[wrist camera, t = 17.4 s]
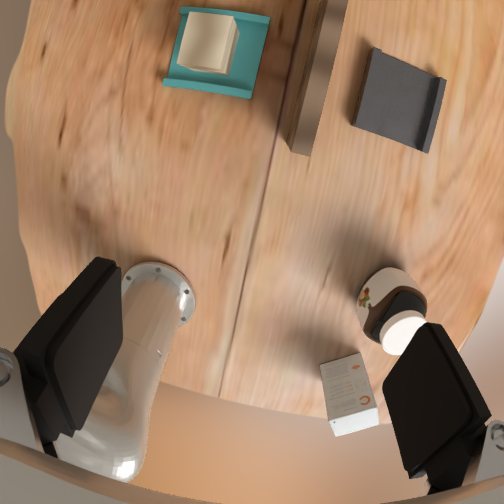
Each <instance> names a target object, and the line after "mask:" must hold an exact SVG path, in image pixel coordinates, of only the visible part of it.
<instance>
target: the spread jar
mask: <svg viewBox="0 0 504 504" xmlns="http://www.w3.org/2000/svg"><path fill="white" fill-rule="evenodd" d="M356 311H357V316H358V319H359V322H360V325H361V327H362V330H363V331H364V333H365V335H366V336H367V337H368V338H370V339H371V340H373V341H374V342H376V343H378V344H381V345H382V347H383V349H384V350H385V351H386V352H387V353H389V354H392V355H402V353H403V352H404V350H405V349H406V347H407V345H408V344H409V342H410V341H411V339H412V337H413V336H414V334H415V332H416V331H417V329H418V328H419V327H420V326H422V325H423V324H424V323H427V322H426V320H425V317H426V313H427V300H426V297H425V295H424V293H423V292H422V290H421V289H420V287H419V286H418V284H417V283H416V282H415V281H414V280H413V279H412V277H410V276H409V275H408V274H406V273H405V272H403V271H401V270H399V269H396V268H391V267H386V268H382V269H380V270H378V271H376V272H374V273H373V274H372V275H371V276H370V277H369V278H368V279H367V280H366V281H365V282H364V284H363V286H362V288H361V290H360V293H359V296H358V299H357V304H356Z"/></svg>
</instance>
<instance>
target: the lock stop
mask: <svg viewBox="0 0 504 504" xmlns="http://www.w3.org/2000/svg"><path fill="white" fill-rule="evenodd" d="M238 37H239V30H238V28H237V25H236V22H235V20H234V17H233V16H230V15H222V14H214V13H204V12H189V16H188V19H187V23H186V27H185V31H184V35H183V39H182V43H181V47H180V51H179V55H178V59H177V64H179V65H181V66H184V67H186V68H188V69H191V70H193V71H198V72H205V73H212V74H219V75H225V76H229V74H230V70H231V66H232V61H233V57H234V53H235V49H236V45H237V41H238Z"/></svg>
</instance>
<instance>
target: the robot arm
mask: <svg viewBox="0 0 504 504" xmlns="http://www.w3.org/2000/svg"><path fill="white" fill-rule="evenodd" d="M195 304H196V298H195V293H194V290H193V288H192V286H191V284H190V282H189V281H188V280H187V279H186V277H185V276H184V275H183V274H181V273H180V272H179V271H178V270H176V269H175V268H173V267H171V266H169V265H167V264H163V263H160V262H152V261H149V262H142V263H139V264H136V265H135V266H133V267H131V268H130V269H129V270H128V271H127V273H126V274H125V275H124V277H123V279H122V282H121V268H120V267H117V266H116V262H115V261H113V260H109V259H105V258H101V257H96V258H94V259H93V260H92V262H91V263H90V264H89V265H88V266H87V267H86V268H85V269H84V270H83V271H82V272H81V273H80V275H79V276H78V277H77V278H76V279H75V280H74V281H73V282H72V283H71V285H70V286H69V287H68V288H67V289H66V290H65V291H64V293H62V294H61V295H59V296H58V297H57V299H56V300H55V301H54V302H53V303H52V304H51V306H50V307H49V308H48V309H47V310H46V312H45V313H44V314H43V315H42V316H41V318H40V319H39V320H38V321H37V323H36V324H35V325H34V326H33V327H32V329H31V330H30V331H29V333H28V334H27V335H26V336H25V338H24V339H23V340H22V341H21V343H20V344H19V345H18V347H17V348H16V349H15V350H14V351H13V352H10V351H9V350H7V349H5V348H1V347H0V504H220V503H213V502H206V501H201V500H195V499H190V498H184V497H179V496H175V495H170V494H165V493H161V492H157V491H153V490H150V489H146V488H142V487H139V486H135V485H131V484H128V483H127V482H129V481H130V480H132V479H133V478H135V477H136V475H137V474H138V473H139V471H140V470H141V468H142V466H143V463H144V459H145V456H146V450H147V442H148V427H149V419H150V413H151V408H152V404H153V400H154V396H155V393H156V390H157V387H158V384H159V381H160V378H161V375H162V372H163V369H164V366H165V363H166V360H167V357H168V354H169V351H170V348H171V345H172V342H173V339H174V337H175V334H176V331H177V328H178V327H180V326H182V325H184V324H185V323H187V321H188V320H189V319H190V318H191V316H192V315H193V312H194V309H195ZM382 390H383V394H384V397H385V400H386V404H387V407H388V410H389V414H390V417H391V421H392V424H393V427H394V431H395V435H396V439H397V442H398V446H399V449H400V454H401V457H402V462H403V466H404V469H405V470H406V471H408V475H409V479H413V478H419V477H422V476H424V475H425V474H427V476H428V478H427V480H426V482H425V484H424V487H423V489H422V491H421V493H420V495H419V497H417V498H413V499H407V500H401V501H395V502H389V503H382V504H504V422H502V421H500V420H494V421H491V422H490V423H489V424H488V425H487V426H485V424H484V423H485V422H486V421H487V420H488V419H489V418H490V417H491V416H492V415H491V413H490V411H489V409H488V407H487V405H486V403H485V401H484V399H483V397H482V395H481V393H480V391H479V389H478V387H477V385H476V383H475V381H474V380H473V378H472V376H471V374H470V372H469V370H468V369H467V367H466V365H465V363H464V362H463V360H462V358H461V356H460V354H459V353H458V351H457V349H456V348H455V346H454V344H453V343H452V341H451V339H450V338H449V336H448V334H447V333H446V331H445V329H444V328H443V326H442V325H440V324H435V323H428V322H427V323H424V324H423V325H422V326H420V327H419V328H418V329H417V331H416V332H415V334H414V336H413V337H412V339H411V341H410V342H409V344H408V345H407V347H406V349H405V350H404V352H403V353H402V355H401V356H400V358H399V359H398V361H397V362H396V364H395V365H394V367H393V368H392V370H391V371H390V373H389V374H388V376H387V377H386V379H385V380H384V382H383V386H382Z"/></svg>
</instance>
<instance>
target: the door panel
mask: <svg viewBox="0 0 504 504" xmlns="http://www.w3.org/2000/svg"><path fill="white" fill-rule="evenodd" d="M347 3H348V0H322V1H321V2H320V6H319V10H318V15H317V19H316V23H315V27H314V31H313V36H312V40H311V44H310V48H309V52H308V56H307V60H306V65H305V69H304V73H303V77H302V81H301V85H300V89H299V93H298V97H297V101H296V106H295V110H294V114H293V118H292V122H291V126H290V130H289V134H288V138H287V142H286V143H287V145H288V147H289V149H290V151H291V152H294V153H298V154H302V155H306V156H309V157H310V155H311V151H312V148H313V144H314V140H315V136H316V132H317V129H318V125H319V121H320V117H321V113H322V109H323V105H324V101H325V97H326V93H327V89H328V85H329V81H330V77H331V73H332V69H333V64H334V60H335V56H336V52H337V48H338V43H339V39H340V35H341V30H342V26H343V21H344V17H345V13H346V8H347Z"/></svg>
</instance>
